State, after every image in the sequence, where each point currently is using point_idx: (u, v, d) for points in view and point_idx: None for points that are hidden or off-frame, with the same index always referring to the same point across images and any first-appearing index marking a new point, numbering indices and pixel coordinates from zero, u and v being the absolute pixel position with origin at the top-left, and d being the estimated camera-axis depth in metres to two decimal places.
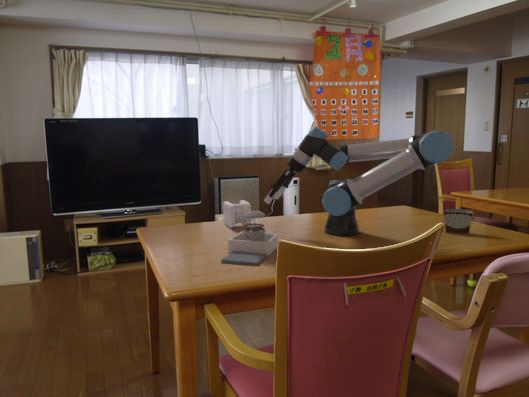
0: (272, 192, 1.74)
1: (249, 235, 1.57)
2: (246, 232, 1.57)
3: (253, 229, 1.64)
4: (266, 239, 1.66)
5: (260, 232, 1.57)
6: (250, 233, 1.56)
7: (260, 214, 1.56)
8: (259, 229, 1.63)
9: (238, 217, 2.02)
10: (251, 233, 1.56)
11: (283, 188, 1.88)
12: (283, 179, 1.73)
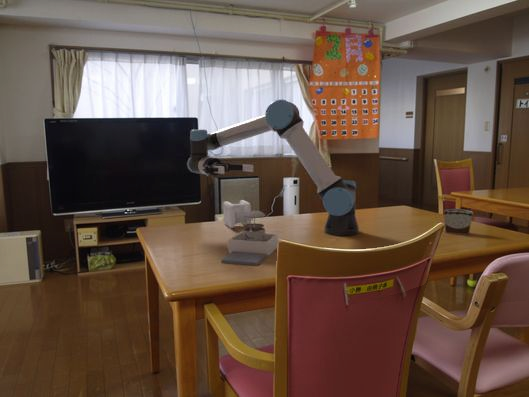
0: (212, 169, 1.64)
1: (249, 235, 1.57)
2: (246, 232, 1.57)
3: (253, 229, 1.64)
4: (266, 239, 1.66)
5: (260, 232, 1.57)
6: (250, 233, 1.56)
7: (260, 214, 1.56)
8: (259, 229, 1.63)
9: (238, 217, 2.02)
10: (251, 233, 1.56)
11: (243, 166, 1.73)
12: (204, 167, 1.70)
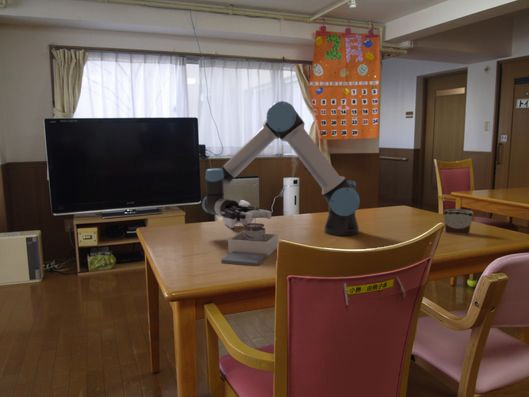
0: (239, 216, 1.57)
1: (249, 234, 1.57)
2: (247, 232, 1.57)
3: (253, 229, 1.64)
4: (266, 239, 1.66)
5: (260, 232, 1.57)
6: (250, 232, 1.56)
7: (261, 214, 1.57)
8: (259, 229, 1.63)
9: None
10: (251, 232, 1.56)
11: None
12: (226, 212, 1.62)
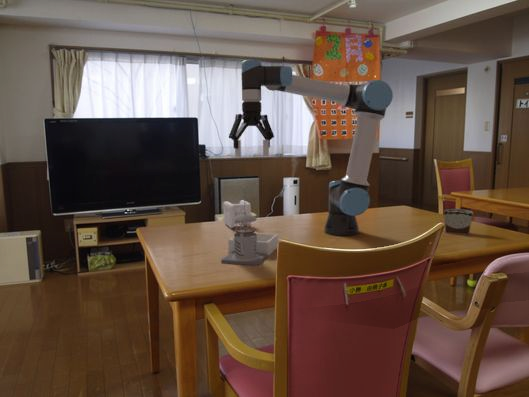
0: (234, 142, 1.62)
1: (239, 241, 1.44)
2: (236, 238, 1.45)
3: (244, 234, 1.51)
4: (266, 239, 1.66)
5: (251, 238, 1.44)
6: (240, 239, 1.44)
7: (251, 218, 1.44)
8: (250, 234, 1.50)
9: None
10: (241, 239, 1.43)
11: (266, 141, 1.71)
12: (235, 124, 1.61)
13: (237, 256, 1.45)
